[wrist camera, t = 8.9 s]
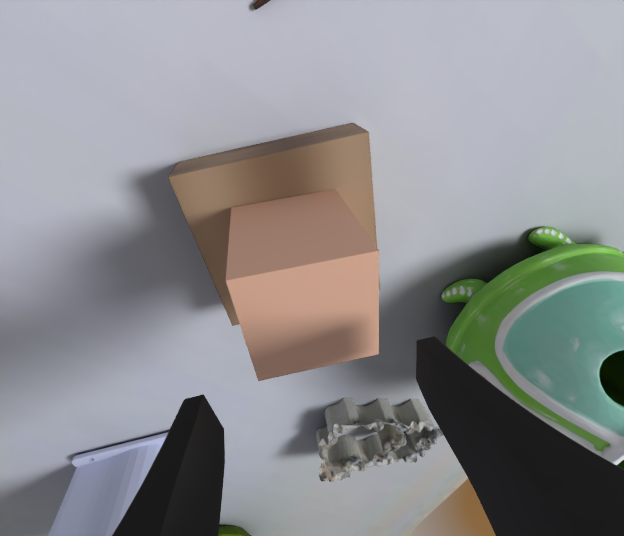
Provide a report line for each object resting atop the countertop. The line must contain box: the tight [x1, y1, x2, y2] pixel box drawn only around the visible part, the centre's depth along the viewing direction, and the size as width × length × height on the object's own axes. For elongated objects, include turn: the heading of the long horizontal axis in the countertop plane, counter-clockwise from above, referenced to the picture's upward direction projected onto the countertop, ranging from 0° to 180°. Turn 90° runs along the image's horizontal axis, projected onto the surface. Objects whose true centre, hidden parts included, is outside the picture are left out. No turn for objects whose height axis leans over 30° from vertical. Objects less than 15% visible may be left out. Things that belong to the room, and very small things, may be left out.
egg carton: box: [315, 398, 444, 482], centre depth 30 cm, size 11×8×4 cm
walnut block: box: [168, 123, 380, 326], centre depth 18 cm, size 9×9×3 cm
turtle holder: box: [441, 227, 624, 469], centre depth 20 cm, size 12×18×12 cm
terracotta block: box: [226, 189, 379, 381], centre depth 14 cm, size 5×5×6 cm
